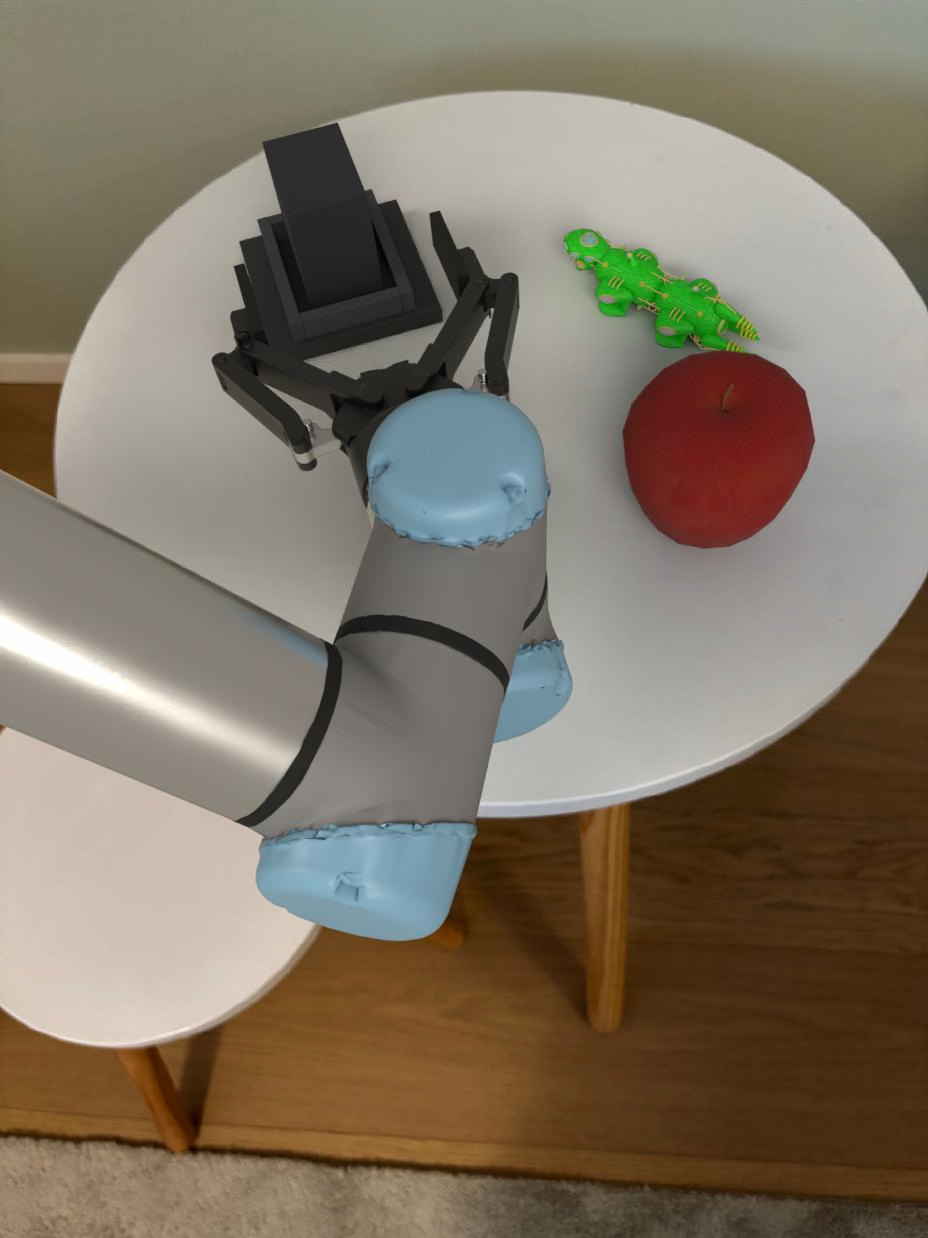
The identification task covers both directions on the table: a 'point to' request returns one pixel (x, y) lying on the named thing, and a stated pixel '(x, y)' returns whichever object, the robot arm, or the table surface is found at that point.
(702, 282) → the crocodile figurine
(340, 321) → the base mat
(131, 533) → the table surface
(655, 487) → the apple
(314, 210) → the pad block
